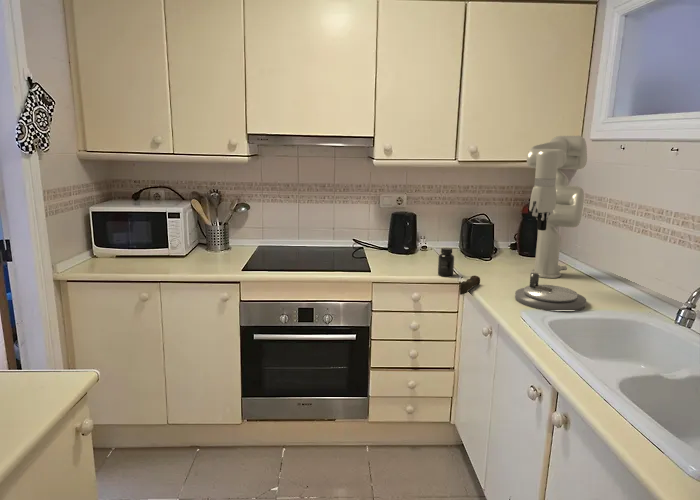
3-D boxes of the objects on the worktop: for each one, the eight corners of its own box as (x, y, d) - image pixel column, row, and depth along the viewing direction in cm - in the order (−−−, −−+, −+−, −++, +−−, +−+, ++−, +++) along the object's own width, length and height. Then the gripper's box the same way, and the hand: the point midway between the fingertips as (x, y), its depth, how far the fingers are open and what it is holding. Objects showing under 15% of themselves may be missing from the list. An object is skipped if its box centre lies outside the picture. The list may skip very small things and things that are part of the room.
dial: (587, 297, 171) (589, 279, 170) (557, 305, 162) (559, 287, 160) (543, 285, 186) (544, 269, 185) (513, 292, 176) (515, 275, 175)
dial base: (555, 290, 189) (556, 284, 188) (601, 308, 166) (602, 302, 166) (502, 294, 183) (502, 288, 182) (542, 314, 160) (542, 307, 159)
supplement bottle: (456, 275, 210) (458, 249, 207) (445, 277, 206) (446, 250, 204) (445, 272, 215) (446, 246, 213) (434, 274, 212) (435, 248, 209)
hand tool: (470, 283, 198) (471, 273, 197) (480, 285, 196) (480, 274, 195) (453, 294, 183) (453, 283, 182) (463, 296, 180) (463, 284, 179)
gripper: (549, 181, 189) (545, 226, 194) (523, 183, 182) (520, 230, 186) (566, 182, 183) (562, 229, 187) (540, 185, 176) (536, 233, 180)
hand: (541, 229), depth 187 cm, fingers closed
